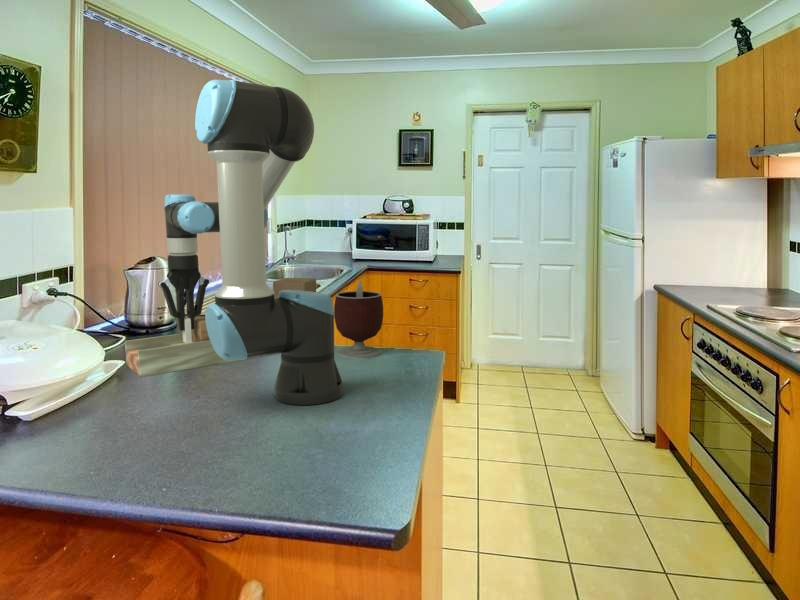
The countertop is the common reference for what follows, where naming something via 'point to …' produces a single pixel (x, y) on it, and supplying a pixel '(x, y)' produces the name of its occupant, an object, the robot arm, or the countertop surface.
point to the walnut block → (200, 330)
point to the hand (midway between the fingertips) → (187, 341)
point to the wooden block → (294, 285)
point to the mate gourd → (358, 320)
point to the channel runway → (169, 354)
